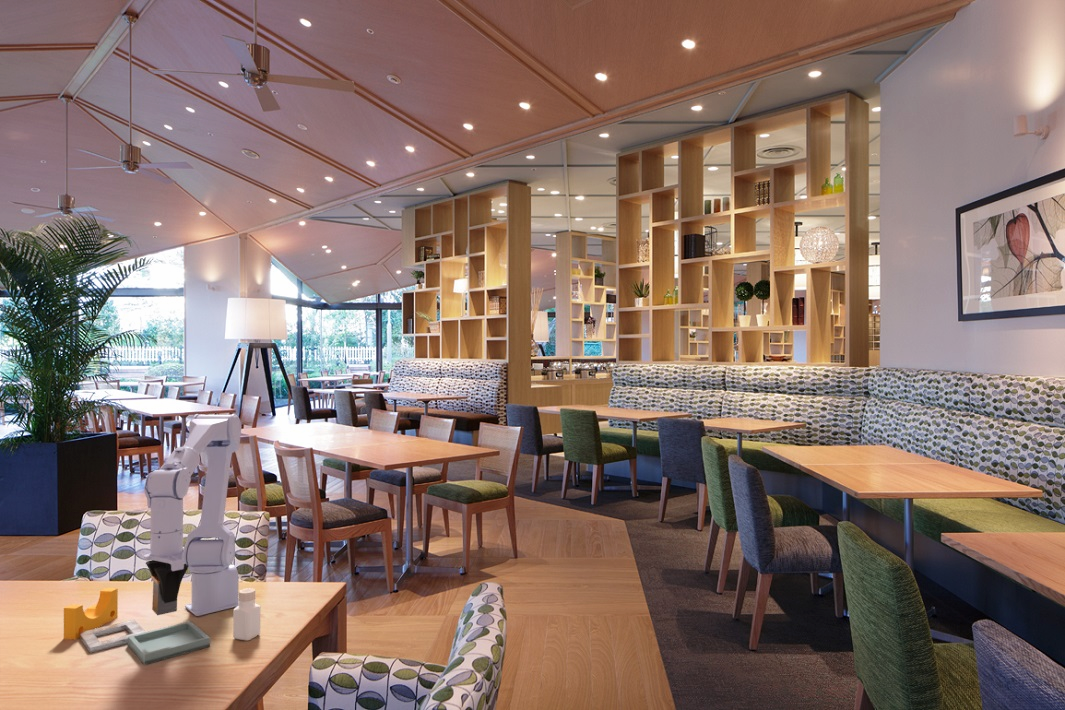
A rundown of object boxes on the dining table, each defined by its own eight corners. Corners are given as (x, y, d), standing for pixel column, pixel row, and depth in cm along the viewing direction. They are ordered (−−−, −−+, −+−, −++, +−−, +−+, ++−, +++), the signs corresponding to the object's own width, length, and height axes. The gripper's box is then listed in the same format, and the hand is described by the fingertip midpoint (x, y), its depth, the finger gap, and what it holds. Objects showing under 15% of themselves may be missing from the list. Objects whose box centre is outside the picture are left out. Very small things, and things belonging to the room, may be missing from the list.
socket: (134, 624, 147) (134, 619, 147) (147, 638, 140) (147, 633, 140) (79, 637, 140) (79, 632, 140) (90, 652, 133) (90, 647, 133)
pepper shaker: (231, 639, 140) (232, 592, 140) (246, 631, 144) (246, 586, 144) (247, 642, 138) (247, 595, 138) (261, 634, 142) (261, 588, 142)
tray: (190, 629, 145) (190, 621, 145) (209, 646, 136) (209, 637, 136) (128, 645, 137) (128, 636, 137) (144, 664, 128) (144, 655, 128)
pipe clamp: (99, 616, 152) (99, 587, 152) (117, 617, 151) (117, 588, 151) (55, 639, 140) (55, 607, 140) (75, 640, 139) (75, 608, 139)
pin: (172, 604, 140) (174, 570, 139) (179, 611, 137) (180, 576, 136) (149, 609, 137) (151, 574, 136) (155, 616, 134) (157, 580, 133)
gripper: (134, 526, 139) (134, 593, 139) (155, 540, 128) (154, 613, 129) (172, 520, 144) (172, 585, 144) (195, 534, 133) (195, 604, 133)
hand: (166, 598), depth 137 cm, fingers closed on pin, 4 cm apart
